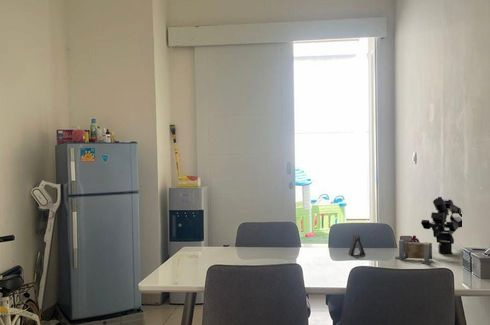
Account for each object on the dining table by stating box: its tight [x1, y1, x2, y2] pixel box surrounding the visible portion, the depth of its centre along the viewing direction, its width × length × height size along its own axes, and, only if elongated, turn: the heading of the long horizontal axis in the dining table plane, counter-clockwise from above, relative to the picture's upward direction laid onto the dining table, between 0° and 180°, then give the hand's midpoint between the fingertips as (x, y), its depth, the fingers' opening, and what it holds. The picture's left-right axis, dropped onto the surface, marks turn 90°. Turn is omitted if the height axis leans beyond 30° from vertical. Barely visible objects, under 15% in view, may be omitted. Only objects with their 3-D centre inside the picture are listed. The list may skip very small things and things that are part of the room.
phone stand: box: [347, 233, 366, 257], centre depth 267 cm, size 9×6×12 cm, turn 89°
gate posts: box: [394, 239, 432, 265], centre depth 247 cm, size 20×7×11 cm, turn 45°
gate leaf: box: [405, 242, 433, 260], centre depth 249 cm, size 14×2×9 cm, turn 75°
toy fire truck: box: [399, 235, 421, 247], centre depth 271 cm, size 7×12×10 cm, turn 84°
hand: (434, 236), depth 256 cm, fingers closed
